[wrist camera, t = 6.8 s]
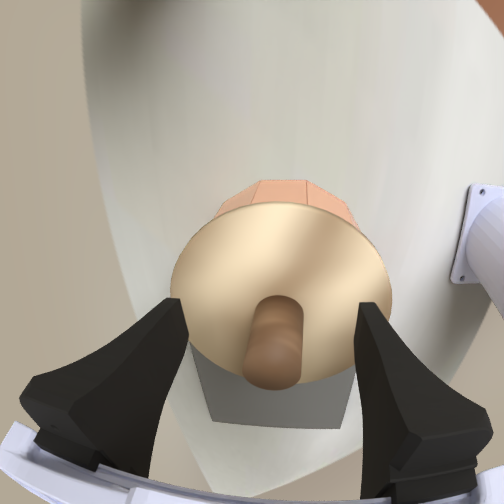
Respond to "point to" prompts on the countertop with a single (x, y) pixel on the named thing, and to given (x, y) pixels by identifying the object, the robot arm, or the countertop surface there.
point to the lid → (278, 291)
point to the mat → (274, 399)
